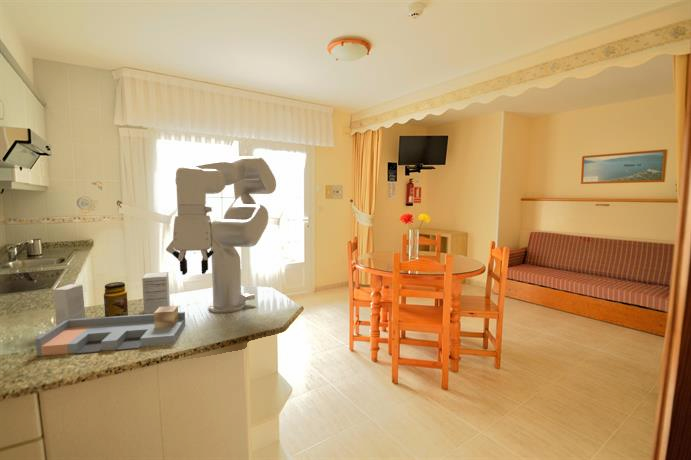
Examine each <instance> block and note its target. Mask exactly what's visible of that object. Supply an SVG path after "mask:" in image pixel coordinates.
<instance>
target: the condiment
mask: <svg viewBox="0 0 691 460" xmlns="http://www.w3.org/2000/svg"><path fill="white" fill-rule="evenodd" d="M103 302H104V303H103V305H104V317H113V316H129V315H130V313H129V309H128V307H129V305H128V291H127V290H126V284H125V282H123V281H116V282H115V281H114V282H110V283H106V284H105V285H104V293H103Z"/></svg>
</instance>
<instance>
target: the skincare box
mask: <svg viewBox="0 0 691 460" xmlns="http://www.w3.org/2000/svg"><path fill="white" fill-rule="evenodd" d="M83 287H84V286H83V284H82V283H80V284H77V283H76V284H75V283H73V284H72V283H70V284H67V285H63V286H60V287H57V288H54V289H53V288H52V292H53V293H52V294H53V303H54V314H55V322H56V323H55V324H56V325H55V326H57V325H59V324H60V323H62V322H63V321H65V320H68V319H83V318H86V311H85V301H84V299H85V298H84V289H83Z"/></svg>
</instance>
